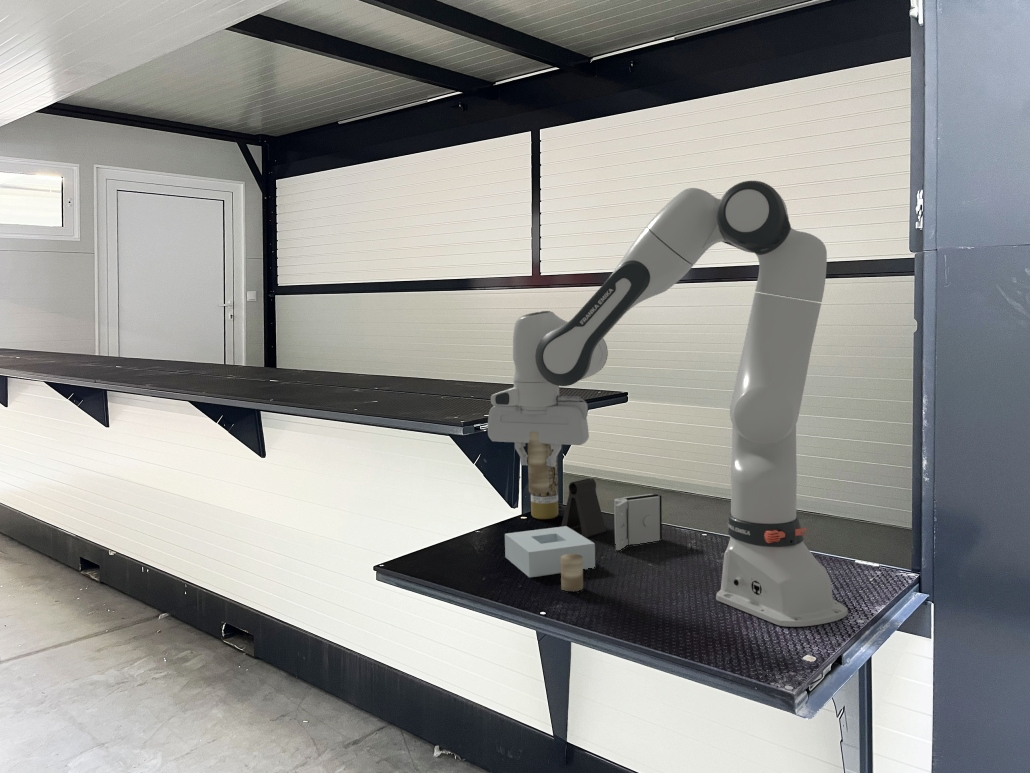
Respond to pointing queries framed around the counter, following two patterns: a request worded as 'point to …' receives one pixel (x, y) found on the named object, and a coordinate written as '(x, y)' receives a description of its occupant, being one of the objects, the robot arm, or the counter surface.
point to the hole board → (547, 550)
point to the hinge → (637, 519)
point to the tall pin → (537, 465)
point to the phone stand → (583, 509)
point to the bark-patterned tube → (547, 495)
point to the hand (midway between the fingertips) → (538, 465)
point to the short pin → (571, 572)
